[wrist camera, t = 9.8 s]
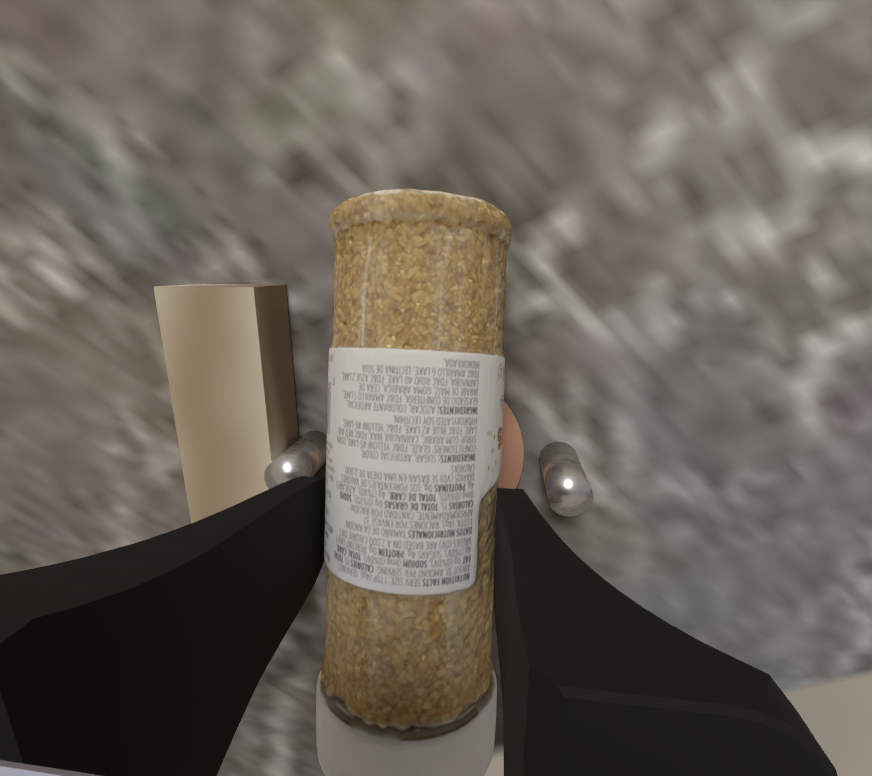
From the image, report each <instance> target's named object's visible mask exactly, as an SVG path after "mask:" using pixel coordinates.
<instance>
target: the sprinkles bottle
mask: <svg viewBox="0 0 872 776" xmlns="http://www.w3.org/2000/svg"><path fill="white" fill-rule="evenodd" d="M329 226H330V233H331V238H332V240H333V243H334V248H335V263H334V320H333V341H332V346H331V348H330V349H329V365H328V408H327V449H326V493H325V533H324V559H325V563H326V566H327V569H326V574H327V582H326V583H327V588H326V623H325V657H324V661H323V665H322V668H321V670H320V673H319V676H318V680H317V692H316V740H317V753H318V759H319V763H320V766H321V768H322V770H323V773H324V775H325V776H484V774H485V772H486V770H487V768H488V766H489V764H490V761H491V758H492V755H493V749H494V741H495V726H496V706H497V680H496V675H495V672H494V669H493V664H492V661H491V658H490V655H491V650H492V640H491V636H492V614H493V589H494V553H495V525H496V499H497V488H499V475H500V471H501V458H502V431H503V406H504V381H505V358H504V356H503V323H504V302H505V276H506V252H507V249H508V246H509V245H510V240H511V226H510V222H509V220H508V217H507V216H506V215H505V214H504V213H503V212H502V211H500V210H499V209H497V208H496V207H495V206H493V205H492V204H490V203H488V202H486V201H484V200H481V199H478V198H474V197H468V196H462V195H457V194H452V193H446V192H440V191H425V190H416V189H390V190H380V191H376V192H371V193H366V194H363V195H361V196H359V197H354V198H351V199H348V200H346V201H344V202H343V203H342V204H341V205H340V206H338V207H337V208H335V210H334V211H333V212H332V213H331V215H330V221H329Z"/></svg>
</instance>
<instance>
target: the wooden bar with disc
mask: <svg viewBox="0 0 872 776" xmlns="http://www.w3.org/2000/svg"><path fill="white" fill-rule="evenodd" d="M154 291H155V298H156V304H157V310H158V317H159V323H160V329H161V336H162V342H163V348H164V354H165V361H166V367H167V373H168V380H169V386H170V392H171V399H172V405H173V411H174V418H175V424H176V430H177V436H178V443H179V449H180V455H181V462H182V468H183V474H184V481H185V487H186V493H187V499H188V506H189V512H190V518H191V524H192V523H194V522H197V521H199V520H201V519H204V518H206V517H208V516H211V515H213V514H215V513H218V512H220V511H222V510H225V509H227V508H229V507H232V506H234V505H236V504H238V503H240V502H242V501H245V500H247V499H249V498H251V497H253V496H255V495H258V494H260V493H262V492H264V491H266V490H268V489H269V488H268V487H267V485H266V483H265V480H264V473H265V470H266V468H267V466H268V465H269V464H270V463H272V462H273V461H274V460H275V459H276V458H277V457H279V456H280V455H281V454H282V453H283V452H284V451H285V450H287V449H288V448H289V447H290V446H291V445H292V444H294V443H295V442H296V441H297V440H298V439H299V433H298V421H297V409H296V397H295V385H294V373H293V361H292V350H291V338H290V326H289V314H288V302H287V290H286V284H190V285H172V286H155V287H154ZM523 462H524V446H523V440H522V434H521V431H520V428H519V425H518V422H517V420H516V418H515V416H514V414H513V412H512V411H511V409H510V408H509V406H508V405H507V403H506V402H505V401H504V406H503V431H502V458H501V471H500V475H499V488H510V489H516V487H517V485H518V483H519V481H520V477H521V473H522V470H523Z"/></svg>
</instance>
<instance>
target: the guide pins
mask: <svg viewBox="0 0 872 776" xmlns="http://www.w3.org/2000/svg"><path fill="white" fill-rule="evenodd" d="M326 449H327V435H325V434H324V433H322V432H320V431H309V432H307V433H305V434H304V435H303V436H302V437H300V438H299V439H298V440H297V441H296V442H295V443H294V444H292V445H291V446H290V447H289V448H288V449H287V450H285V451H284V452H283V453H282V454H281V455H280V456H279V457H277V458H276V459H275V460H274V461H273V462H272V463H270V464H269V465H268V466H267V468H266V470H265V473H264V480H265V483H266V485H267V487H268V488H269V489H270V488H273V487H275V486H277V485H279V484H281V483H284V482H286V481H289V480H291V479H294V478H297V477H300V476H308V477H313V476H314V475H315V474H316V473H317V471H318V470H319V469H320V468H321V467H322V466H323V465H324V464H325V462H326ZM539 462H540V467H541V471H542V476H543V480H544V485H545V489H546V494H547V498H548V502H549V505H550V506H551V508H552V509H553V510H554V511H555V512H556V513H558V514H560V515H563V516H568V517H573V516H578V515H581V514H583V513H584V512H586V511H587V510H588V509H589V507H590V506H591V504H592V501H593V492H592V489H591V487H590V484H589V482H588V480H587V477H586V475H585V473H584V470H583V468H582V466H581V463H580V461H579V459H578V456H577V454H576V452H575V450H574V449H573V448H572V447H571V446H570V445H568V444H566V443H563V442H554V443H551V444H549V445H547V446H546V447H545V448H544V449H543V450H542V451H541V453H540V457H539Z"/></svg>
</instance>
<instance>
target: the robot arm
mask: <svg viewBox="0 0 872 776" xmlns="http://www.w3.org/2000/svg"><path fill="white" fill-rule="evenodd" d="M324 533H325V484H324V477H308V476H300V477H297V478H294V479H291V480H289V481H286V482H284V483H281V484H279V485H277V486H275V487H273V488H270V489H268V490H266V491H264V492H262V493H260V494H258V495H255V496H253V497H251V498H249V499H247V500H245V501H242V502H240V503H238V504H236V505H234V506H232V507H229V508H227V509H225V510H222V511H220V512H218V513H215V514H213V515H211V516H208V517H206V518H204V519H201V520H199V521H197V522H194V523H192V524H189V525H187V526H184V527H181V528H179V529H176V530H173V531H171V532H168V533H165V534H162V535H159V536H156V537H153V538H150V539H147V540H144V541H141V542H138V543H134V544H131V545H127V546H124V547H120V548H116V549H113V550H109V551H106V552H102V553H98V554H95V555H91V556H88V557H84V558H80V559H76V560H71V561H67V562H62V563H58V564H54V565H49V566H44V567H39V568H34V569H29V570H24V571H19V572H14V573H8V574H3V575H0V776H216V775H217V773H218V771H219V769H220V766H221V764H222V762H223V759H224V757H225V755H226V752H227V750H228V748H229V745H230V743H231V741H232V739H233V736H234V734H235V732H236V729H237V727H238V725H239V723H240V721H241V719H242V716H243V714H244V712H245V710H246V708H247V705H248V703H249V701H250V699H251V697H252V695H253V692H254V690H255V688H256V686H257V684H258V682H259V680H260V678H261V676H262V674H263V673H264V671H265V669H266V667H267V665H268V663H269V662H270V660H271V658H272V656H273V655H274V653H275V651H276V650H277V648H278V646H279V644H280V643H281V641H282V639H283V638H284V636H285V634H286V632H287V631H288V629H289V627H290V626H291V624H292V622H293V621H294V619H295V617H296V615H297V614H298V612H299V610H300V608H301V607H302V605H303V603H304V601H305V600H306V598H307V596H308V594H309V593H310V591H311V589H312V587H313V586H314V584H315V582H316V579H317V577H318V575H319V572H320V570H321V567H322V565H323V562H324V560H325V559H324ZM494 610H495V620H496V631H497V641H498V652H499V662H500V673H501V683H502V695H503V713H504V776H837V773H836V769H835V768H834V766H833V765H832V763H831V762H830V760H829V759H828V757H827V756H826V754H825V753H824V751H823V750H822V748H821V747H820V745H819V744H818V742H817V741H816V739H815V738H814V736H813V735H812V733H811V731H810V730H809V728H808V727H807V725H806V724H805V722H804V721H803V719H802V718H801V716H800V715H799V713H798V712H797V711H796V709H795V708H794V706H793V705H792V704H791V703H790V701H789V700H788V699H787V697H786V696H785V695H784V693H783V692H782V691H781V689H780V688H779V687H778V686H777V684H776V683H775V682H774V680H773V679H772V678H771V676H770V675H769V674H767V673H765V672H763V671H761V670H759V669H756V668H754V667H752V666H750V665H748V664H746V663H744V662H742V661H740V660H738V659H736V658H734V657H731V656H729V655H727V654H725V653H723V652H721V651H719V650H717V649H715V648H713V647H711V646H709V645H706V644H704V643H703V642H701V641H699V640H697V639H695V638H693V637H692V636H690V635H688V634H686V633H685V632H683V631H681V630H679V629H677V628H676V627H674V626H672V625H670V624H669V623H667V622H665V621H664V620H662V619H660V618H659V617H657V616H656V615H654V614H652V613H651V612H649V611H647V610H646V609H644V608H643V607H641V606H640V605H639V604H637V603H636V602H634V601H633V600H631V599H630V598H628V597H627V596H626V595H624V594H623V593H621V592H620V591H618V590H617V589H616V588H615V587H613V586H612V585H611V584H609V583H608V582H607V581H605V580H604V579H603V578H602V577H601V576H599V575H598V574H597V573H596V572H595V571H594V570H592V569H591V568H590V567H589V566H588V565H586V564H585V563H584V562H583V561H582V560H581V559H580V558H579V557H578V556H577V555H576V554H575V553H574V552H573V551H572V550H571V549H570V548H569V547H568V546H567V545H566V544H565V543H564V542H563V541H562V540H561V539H560V537H559V536H558V535H557V534H556V533H555V531H554V530H553V529H552V528H551V527H550V525H549V524H548V523H547V522H546V520H545V519H544V518H543V517H542V515H541V514H540V513H539V511H538V510H537V509H536V507H535V506H534V504H533V503H532V501H531V500H530V498H529V497H528V495H527V494H526V493H525V492H524V490H523V489H510V488H497V499H496V525H495V553H494Z"/></svg>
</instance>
